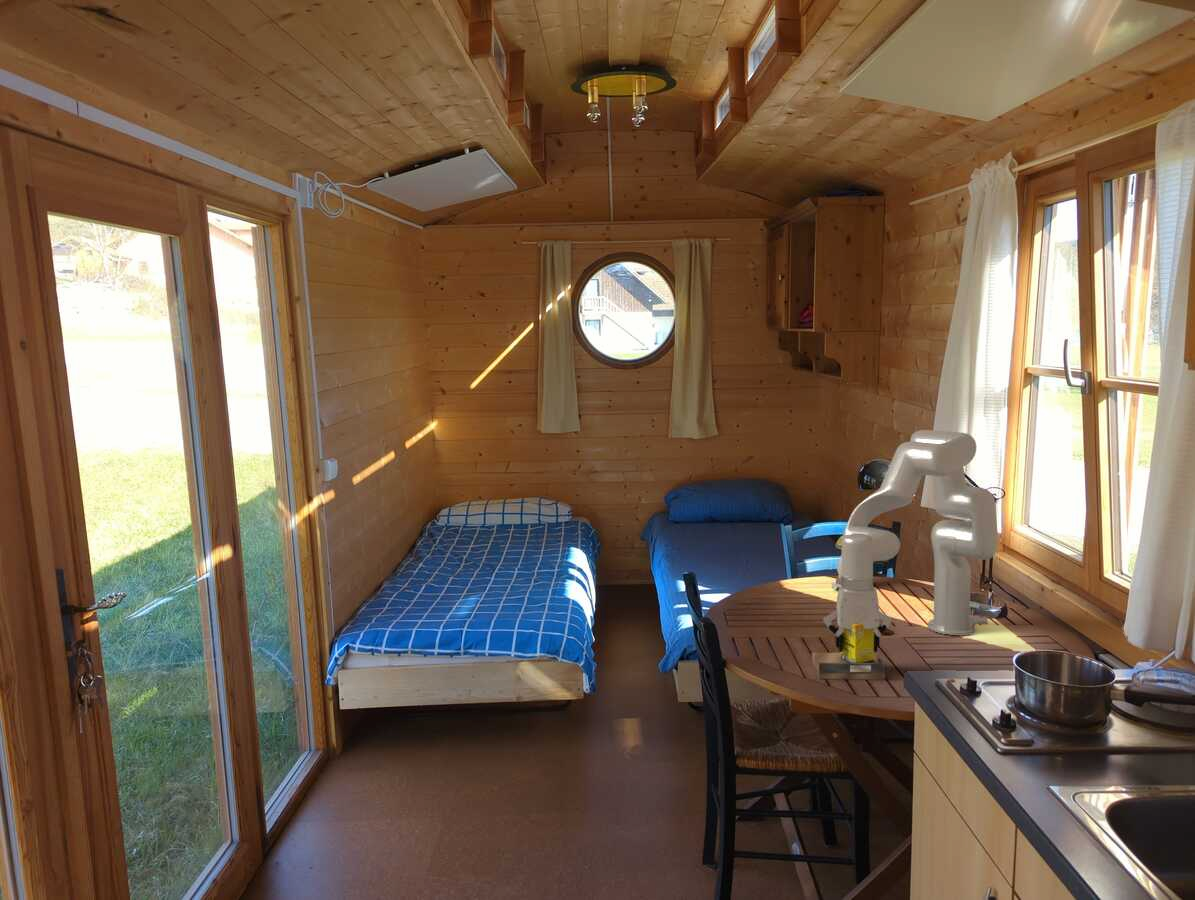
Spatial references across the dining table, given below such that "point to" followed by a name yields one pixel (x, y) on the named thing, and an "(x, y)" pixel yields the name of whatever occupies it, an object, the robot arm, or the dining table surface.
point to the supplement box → (858, 644)
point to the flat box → (846, 668)
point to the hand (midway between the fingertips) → (857, 649)
